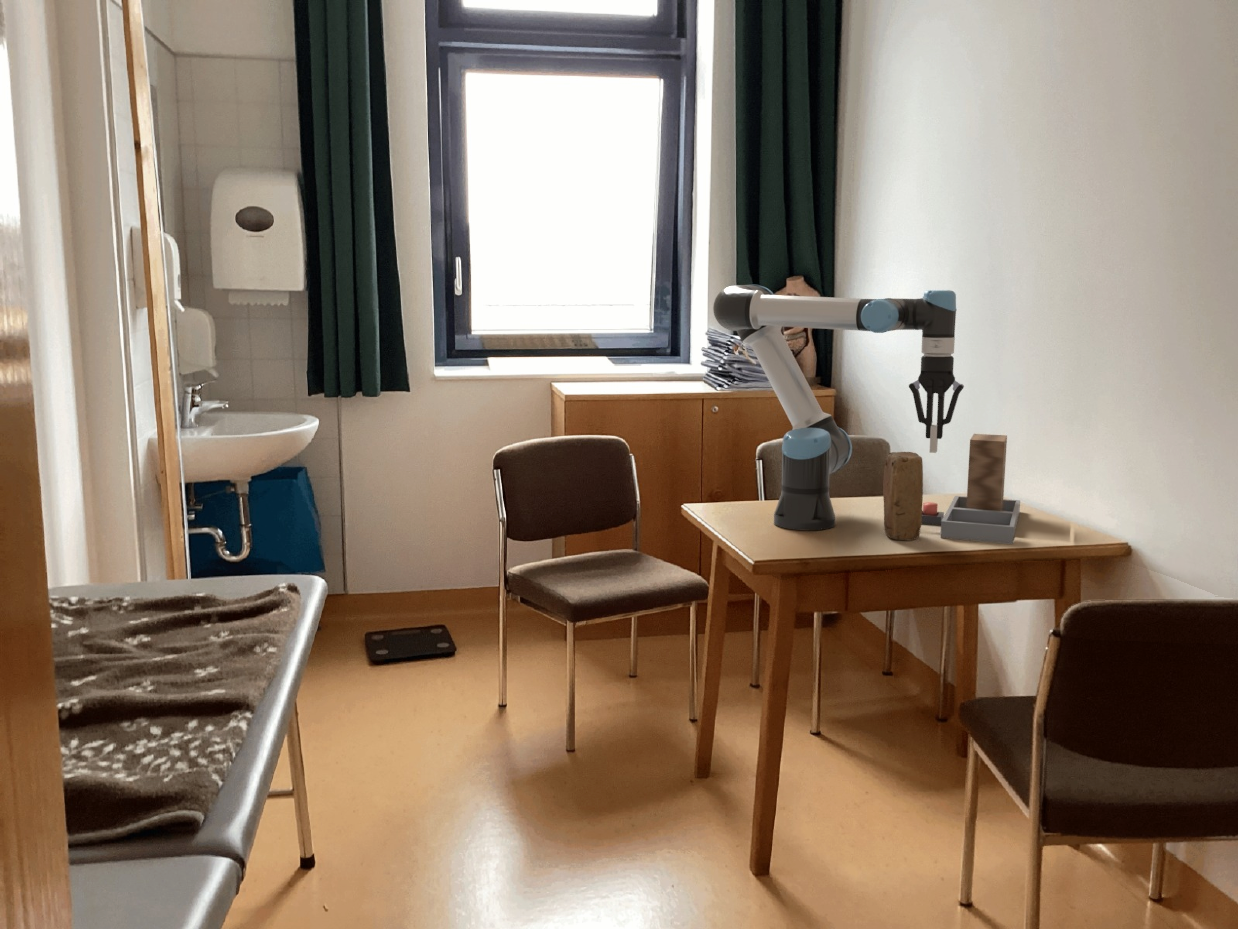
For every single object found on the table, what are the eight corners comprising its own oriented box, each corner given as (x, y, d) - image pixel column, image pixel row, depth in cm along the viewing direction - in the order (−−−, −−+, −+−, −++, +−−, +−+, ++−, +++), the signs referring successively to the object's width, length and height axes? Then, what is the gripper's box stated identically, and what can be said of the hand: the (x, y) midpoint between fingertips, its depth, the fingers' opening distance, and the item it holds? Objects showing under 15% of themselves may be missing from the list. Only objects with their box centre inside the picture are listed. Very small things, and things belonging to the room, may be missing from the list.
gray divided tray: (940, 537, 247) (941, 521, 246) (954, 510, 276) (955, 495, 275) (1012, 544, 241) (1013, 527, 240) (1019, 515, 270) (1020, 500, 269)
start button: (921, 518, 258) (922, 504, 257) (923, 515, 261) (924, 501, 261) (936, 519, 257) (936, 505, 256) (937, 516, 260) (938, 502, 259)
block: (922, 541, 243) (926, 456, 240) (890, 542, 243) (894, 457, 240) (909, 530, 254) (912, 449, 251) (878, 531, 254) (881, 449, 250)
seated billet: (965, 518, 262) (970, 439, 258) (969, 510, 272) (973, 433, 268) (999, 521, 259) (1004, 441, 255) (1002, 512, 269) (1007, 435, 265)
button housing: (915, 527, 258) (915, 515, 257) (918, 521, 263) (919, 510, 263) (940, 529, 255) (941, 517, 255) (943, 523, 261) (943, 512, 260)
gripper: (907, 355, 251) (903, 452, 255) (964, 356, 246) (959, 455, 250) (911, 353, 258) (908, 448, 262) (967, 354, 253) (962, 451, 257)
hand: (933, 451), depth 256 cm, fingers closed
